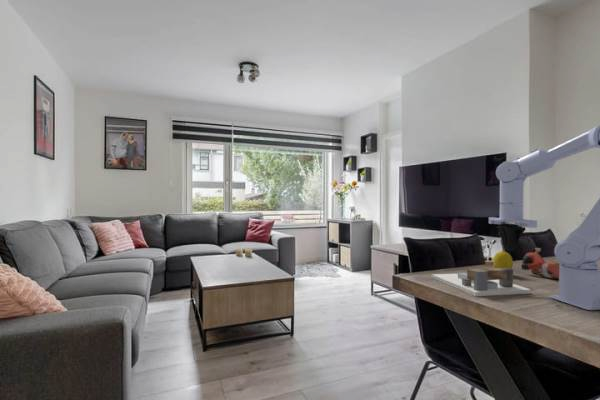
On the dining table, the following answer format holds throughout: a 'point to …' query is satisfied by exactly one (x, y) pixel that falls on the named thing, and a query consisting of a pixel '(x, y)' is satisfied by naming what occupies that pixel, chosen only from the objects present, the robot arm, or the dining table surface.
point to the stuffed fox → (540, 265)
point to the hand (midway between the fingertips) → (510, 250)
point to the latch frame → (479, 284)
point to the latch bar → (495, 275)
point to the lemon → (502, 260)
